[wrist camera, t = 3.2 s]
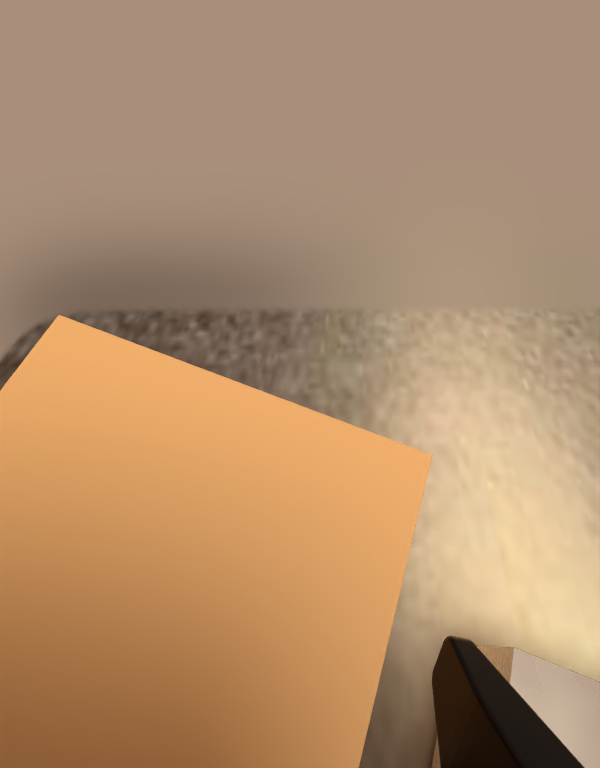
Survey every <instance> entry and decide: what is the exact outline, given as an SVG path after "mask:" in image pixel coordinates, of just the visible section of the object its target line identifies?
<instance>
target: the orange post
mask: <svg viewBox="0 0 600 768" xmlns="http://www.w3.org/2000/svg"><path fill="white" fill-rule="evenodd" d="M431 459H432V455H430V454H427V453H425V452H422V451H419V450H417V449H414V448H411V447H409V446H406V445H403V444H401V443H398V442H395V441H393V440H390V439H387V438H385V437H382V436H379V435H377V434H374V433H371V432H369V431H366V430H364V429H361V428H358V427H356V426H353V425H350V424H348V423H345V422H342V421H340V420H337V419H334V418H332V417H329V416H326V415H324V414H321V413H318V412H316V411H313V410H310V409H308V408H305V407H302V406H300V405H297V404H294V403H292V402H289V401H286V400H284V399H281V398H278V397H276V396H273V395H271V394H268V393H265V392H263V391H260V390H257V389H255V388H252V387H249V386H247V385H244V384H241V383H239V382H236V381H233V380H231V379H228V378H225V377H223V376H220V375H217V374H215V373H212V372H209V371H207V370H204V369H201V368H199V367H196V366H193V365H191V364H188V363H185V362H183V361H180V360H178V359H175V358H172V357H170V356H167V355H164V354H162V353H159V352H156V351H154V350H151V349H148V348H146V347H143V346H140V345H138V344H135V343H132V342H130V341H127V340H124V339H122V338H119V337H116V336H114V335H111V334H108V333H106V332H103V331H100V330H98V329H95V328H92V327H90V326H87V325H85V324H82V323H79V322H77V321H74V320H71V319H69V318H66V317H63V316H61V315H58V317H57V318H56V319H55V321H54V322H53V323H52V325H51V326H50V327H49V328H48V330H47V331H46V332H45V334H44V335H43V336H42V337H41V339H40V340H39V341H38V343H37V344H36V345H35V347H34V348H33V349H32V350H31V352H30V353H29V354H28V356H27V357H26V358H25V359H24V361H23V362H22V363H21V365H20V366H19V367H18V369H17V370H16V371H15V372H14V374H13V375H12V376H11V378H10V379H9V380H8V381H7V383H6V384H5V385H4V387H3V388H2V389H1V391H0V768H359V764H360V760H361V756H362V752H363V747H364V743H365V739H366V735H367V730H368V726H369V722H370V718H371V713H372V709H373V705H374V701H375V696H376V692H377V688H378V684H379V679H380V675H381V671H382V667H383V662H384V658H385V654H386V650H387V645H388V641H389V637H390V633H391V628H392V624H393V620H394V616H395V612H396V607H397V603H398V599H399V595H400V590H401V586H402V582H403V578H404V573H405V569H406V565H407V561H408V556H409V552H410V548H411V544H412V539H413V535H414V531H415V527H416V522H417V518H418V514H419V510H420V505H421V501H422V497H423V493H424V488H425V484H426V480H427V476H428V471H429V467H430V463H431Z"/></svg>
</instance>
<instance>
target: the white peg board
mask: <svg viewBox="0 0 600 768" xmlns="http://www.w3.org/2000/svg"><path fill="white" fill-rule="evenodd" d="M476 646H477V647H478V648H479V649H480V650H481V652H482V653H483V654H484V655H485V656H486V657H487V658H488V659H489V661H490V662H491V663H492V664H493V665H494V666H495V667H496V668H497V670H498V671H499V672H500V673H501V674H502V675H503V676H504V677H505V679H506V680H507V681H508V682H509V683H510V684H511V685H512V686H513V688H514V689H515V690H516V691H517V692H518V693H519V694H520V695H521V697H522V698H523V699H524V700H525V701H526V702H527V703H528V704H529V706H530V707H531V708H532V709H533V710H534V711H535V712H536V713H537V715H538V716H539V717H540V718H541V719H542V720H543V721H544V722H545V724H546V725H547V726H548V727H549V728H550V729H551V730H552V731H553V733H554V734H555V735H556V736H557V737H558V738H559V739H560V740H561V742H562V743H563V744H564V745H565V746H566V747H567V748H568V749H569V751H570V752H571V753H572V754H573V755H574V756H575V757H576V758H577V760H578V761H579V762H580V763H581V764H582V765H583V766H584V767H585V768H600V682H598V681H596V680H593V679H591V678H588V677H586V676H583V675H581V674H578V673H576V672H573V671H571V670H568V669H566V668H563V667H561V666H558V665H556V664H553V663H551V662H548V661H546V660H543V659H541V658H538V657H536V656H533V655H531V654H528V653H526V652H523V651H521V650H518V649H516V648H510V647H494V646H478V645H476ZM431 768H441V766H440V756H439V746H438V736H437V738H436V744H435V749H434V755H433V761H432V766H431Z"/></svg>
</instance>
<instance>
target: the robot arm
mask: <svg viewBox="0 0 600 768" xmlns="http://www.w3.org/2000/svg"><path fill="white" fill-rule="evenodd" d="M432 688H433V697H434V707H435V717H436V727H437V736H438V746H439V756H440V766H441V768H585V767H584V766H583V765H582V764H581V763H580V762H579V761H578V760H577V758H576V757H575V756H574V755H573V754H572V753H571V752H570V751H569V749H568V748H567V747H566V746H565V745H564V744H563V743H562V742H561V740H560V739H559V738H558V737H557V736H556V735H555V734H554V733H553V731H552V730H551V729H550V728H549V727H548V726H547V725H546V724H545V722H544V721H543V720H542V719H541V718H540V717H539V716H538V715H537V713H536V712H535V711H534V710H533V709H532V708H531V707H530V706H529V704H528V703H527V702H526V701H525V700H524V699H523V698H522V697H521V695H520V694H519V693H518V692H517V691H516V690H515V689H514V688H513V686H512V685H511V684H510V683H509V682H508V681H507V680H506V679H505V677H504V676H503V675H502V674H501V673H500V672H499V671H498V670H497V668H496V667H495V666H494V665H493V664H492V663H491V662H490V661H489V659H488V658H487V657H486V656H485V655H484V654H483V653H482V652H481V650H480V649H479V648H478V647H477V646H476V645H475V644H474V643H473V642H472V641H471V640H469V639H465V638H460V637H455V636H448V637H447V638H446V639H445V640H444V642H443V645H442V648H441V650H440V653H439V656H438V659H437V661H436V664H435V667H434V670H433V675H432Z"/></svg>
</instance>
